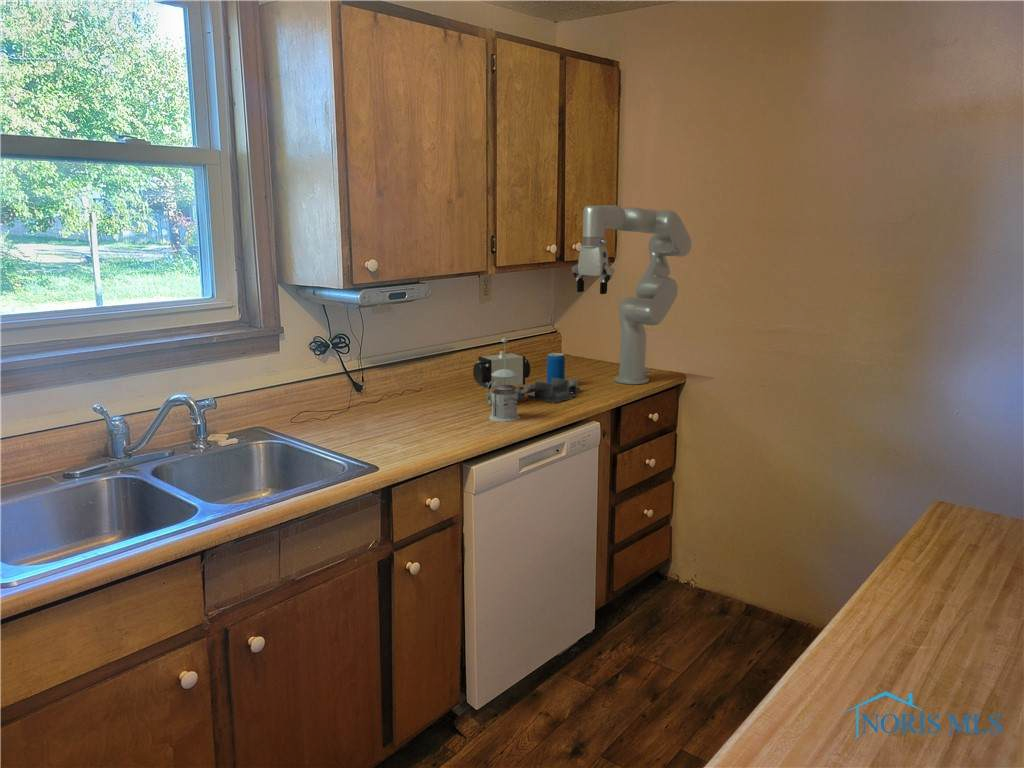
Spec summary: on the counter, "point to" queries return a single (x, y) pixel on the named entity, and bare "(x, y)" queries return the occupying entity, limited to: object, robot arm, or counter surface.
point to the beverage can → (555, 366)
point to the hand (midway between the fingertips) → (591, 292)
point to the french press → (503, 396)
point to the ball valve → (495, 363)
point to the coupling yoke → (549, 390)
